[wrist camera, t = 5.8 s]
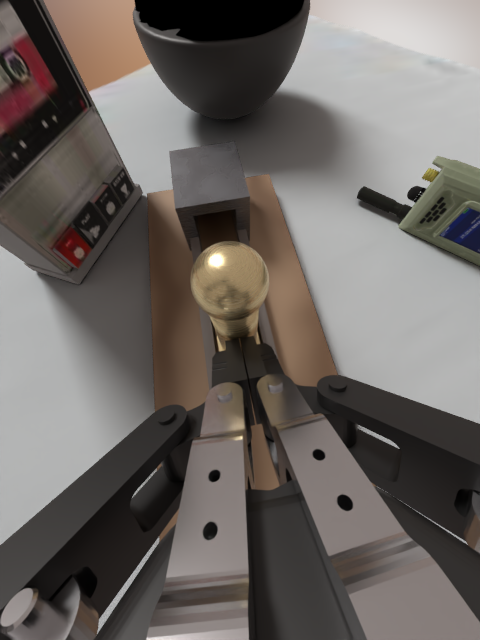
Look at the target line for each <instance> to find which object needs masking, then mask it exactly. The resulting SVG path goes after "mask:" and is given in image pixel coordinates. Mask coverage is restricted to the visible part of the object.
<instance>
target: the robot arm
mask: <svg viewBox="0 0 480 640" xmlns="http://www.w3.org/2000/svg"><path fill="white" fill-rule="evenodd" d="M240 342H241V346H240ZM225 346H226V350H224V351H219V352H216V353H215V355H214V356H213V358H212V389H211V390H210V391H209V392H208V394H207V396H206V401H205V402H204V403H203V404H201V405H200V406H198V407H196V408H193V409H191V410H189V411H186V409H185V408H184V407H183V406H181V405H176V404H175V405H168V406H165V407H163V408H161V409H159V410H157V411H156V412H155V413H153V414H152V415H151V416H150V417H149V418H148V419H146V420H145V421H144V422H143V423H142V424H141V425H139V426H138V427H137V428H136V429H135V430H134V431H132V432H131V433H130V434H129V435H128V436H127V437H126V438H124V439H123V440H122V441H121V442H120V443H119V444H117V445H116V446H115V447H114V448H113V449H112V450H110V451H109V452H108V453H107V454H106V455H105V456H103V457H102V458H101V459H100V460H99V461H98V462H97V463H95V464H94V465H93V466H92V467H91V468H90V469H88V470H87V471H86V472H85V473H84V474H83V475H81V476H80V477H79V478H78V479H77V480H76V481H74V482H73V483H72V484H71V485H70V486H69V487H68V488H66V489H65V490H64V491H63V492H62V493H61V494H59V495H58V496H57V497H56V498H55V499H54V500H52V501H51V502H50V503H49V504H48V505H47V506H45V507H44V508H43V509H42V510H41V511H40V512H39V513H37V514H36V515H35V516H34V517H33V518H32V519H30V520H29V521H28V522H27V523H26V524H25V525H23V526H22V527H21V528H20V529H19V530H18V531H16V532H15V533H14V534H13V535H12V536H11V537H10V538H8V539H7V540H6V541H5V542H4V543H3V544H1V545H0V640H480V424H478V423H475V422H473V421H470V420H467V419H464V418H461V417H458V416H455V415H453V414H450V413H447V412H444V411H441V410H438V409H436V408H433V407H430V406H427V405H424V404H421V403H418V402H416V401H413V400H410V399H407V398H404V397H401V396H399V395H396V394H393V393H390V392H387V391H384V390H381V389H379V388H376V387H373V386H370V385H367V384H364V383H362V382H359V381H356V380H353V379H350V378H347V377H344V376H340V375H329V376H325V377H323V378H321V379H320V380H319V381H318V383H317V387H313V386H301V385H297V384H294V382H293V381H292V379H291V378H290V377H288V376H286V375H285V374H284V372H283V370H282V367H281V365H280V363H279V361H278V359H277V357H276V355H275V353H274V351H273V349H272V347H271V346H269V345H268V344H266V343H263V344H257V343H256V341H255V338H254V336H249V337H243V338H240V341H239V338H238V339H232V340H227V341H225ZM241 348H242V351H241ZM242 354H243V356H242ZM249 390H250V391H249ZM250 395H251V397H250ZM251 400H252V403H251ZM252 405H253V409H254V414H255V419H256V424H257V425H258V424H262V426H263V431H264V437H265V442H266V445H267V448H268V451H269V455H270V458H271V461H272V464H273V467H274V470H275V473H276V476H277V479H278V482H279V485H280V486H279V487H277V488H275V489H273V490H257V489H256V483H255V471H254V459H253V447H252V440H251V439H252V430H251V426H253V425H255V421H254V415H253V409H252ZM358 425H360V426H362V427H364V428H367V429H369V430H371V431H373V432H375V433H377V434H379V435H381V436H383V437H385V438H387V439H389V440H391V441H393V442H394V443H395V444H396V445H397V446H398V447H399V448H400V449H398V448H396V447H394V446H392V445H390V444H388V443H385V442H383V441H381V440H379V439H377V438H375V437H373V436H371V435H369V434H367V433H365V432H363V431H361V430H359V429H357V427H358ZM160 464H161V465H162V466H161V467H160V468H159V469H158V470H157V472H156V473H155V474H154V475H153V476H152V477H151V478H150V479H149V480H148V482H147V483H146V484H145V485H144V486H143V487H142V488H141V489H140V490H139V492H138V493H137V494H136V495H135V496H134V497H133V498H132V496H133V494H134V493H135V491H136V490H137V489H138V488H139V486H140V485H141V484H142V483H143V482H144V481H145V480H146V479H147V478H148V477H149V476H150V474H151V473H152V472H153V471H154V470H155V469H156V468H157V467H158V466H159V465H160ZM372 483H373V484H375V485H376V486H378V487H380V488H381V489H383V490H384V491H383V490H381V489H379V488H377V487H375V486H373V485H372ZM385 491H386V492H385ZM387 492H388V493H387ZM390 494H391V495H390ZM393 496H394V497H393ZM395 497H396V498H397V499H396V498H395ZM398 499H399V500H398ZM401 501H402V502H401ZM403 502H404V503H405V504H404V503H403ZM406 504H407V505H408V506H407V505H406ZM409 506H410V507H412V508H413V509H415V510H416V511H418V512H420V513H421V514H423V515H425V516H426V517H428V518H429V519H431V520H433V521H434V522H436V523H437V524H439V525H441V526H442V527H444V528H445V529H447V530H449V531H450V532H452V533H453V534H455V535H457V536H458V537H460V538H462V539H463V540H465V541H466V542H467V544H468V545H467V544H465V543H463V542H462V541H460V540H459V539H457V538H456V537H454V536H453V535H451V534H450V533H448V532H447V531H445V530H444V529H442V528H441V527H439V526H438V525H436V524H435V523H433V522H432V521H430V520H428V519H427V518H425V517H424V516H422V515H421V514H419V513H418V512H416V511H415V510H413V509H412V508H410V507H409ZM178 509H179V513H178V518H177V523H176V524H175V525H174V526H173V527H172V528H171V529H170V530H169V531H168V532H167V534H166V535H165V536H164V537H163V539H162V540H161V541H160V542H159V544H158V545H157V547H156V548H155V550H154V551H153V553H152V554H151V555H150V557H149V558H148V560H147V561H146V563H145V564H144V566H143V567H142V569H141V570H140V572H139V573H138V575H137V576H136V578H135V579H134V581H133V582H132V584H131V585H130V587H129V588H128V590H127V591H126V593H125V594H124V596H123V597H122V598H121V600H120V601H119V603H118V604H117V606H116V607H115V609H114V610H113V612H112V613H111V615H110V616H109V618H108V619H107V621H106V622H105V624H104V625H103V627H102V628H101V630H100V631H99V633H98V634H97V630H98V622H99V618H100V617H101V616H102V614H103V613H104V611H105V610H106V609H107V607H108V606H109V605H110V603H111V602H112V600H113V599H114V598H115V596H116V595H117V594H118V592H119V591H120V589H121V588H122V587H123V585H124V584H125V582H126V581H127V580H128V578H129V577H130V576H131V574H132V573H133V571H134V570H135V569H136V567H137V566H138V565H139V563H140V562H141V560H142V559H143V558H144V556H145V555H146V553H147V552H148V551H149V549H150V548H151V547H152V545H153V544H154V542H155V541H156V540H157V538H158V537H159V535H160V534H161V533H162V531H163V530H164V529H165V527H166V526H167V524H168V523H169V522H170V520H171V519H172V518H173V516H174V515H175V513H176V512H177V511H178ZM96 635H97V636H96Z"/></svg>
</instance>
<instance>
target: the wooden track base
mask: <svg viewBox="0 0 480 640" xmlns="http://www.w3.org/2000/svg"><path fill="white" fill-rule="evenodd" d="M245 180H246V184H247V187H248V191H249V194H250V241H249V240H248V236H247V232H246V229H243V230H237V234H238V240H237V236H236V231H235V227H234V222H233V218H232V214H231V210H228V211H222V212H216V213H210V214H204V215H198V216H197V218H198V224H199V231H200V238H201V243H200V239H199V237H196V238H190V241H191V249H192V250H191V251H190V249H189V246H188V244H187V241H186V238H185V235H184V232H183V230H182V227H181V224H180V221H179V218H178V216H177V213H176V210H175V203H174V193H173V190H167V191H160V192H154V193H148V194H147V204H148V231H149V259H150V287H151V315H152V343H153V371H154V399H155V412H156V411H157V410H159V409H161V408H163V407H165V406H168V405H175V404H176V405H181V406H183V407H184V408H185V409H186V411H189V410H191V409H193V408H196V407H198V406H200V405H201V404H203V403H204V402H205V401H206V396H207V394H208V392H209V391H210V390H211V389H212V358H213V356H214V355H215V353H216V352H219V346H218V340H217V333H216V331H215V328H214V326H213V323H212V321H211V318H210V316H209V315H208V314H207V313H206V312H204V311H203V310H202V309H201V308H200V307H199V305H198V304H197V302H196V301H195V299H194V297H193V294H192V291H191V284H190V277H191V271H192V268H193V265H194V263H195V261H196V259H197V258H198V256H199V255H200V254H201V253H202V252H203V251H204V250H205V249H207V248H208V247H210V246H211V245H214V244H216V243H219V242H224V241H235V242H240V243H243V244H246V245H248V246H249V247H251V248H253V249H254V250H255V251H256V252H257V253H258V254H259V255H260V256H261V257H262V259H263V260H264V262H265V264H266V266H267V269H268V274H269V289H268V293H267V296H266V298H265V300H264V302H263V304H262V305H261V306H260V308H259V316H258V328H257V332H258V337H259V341H260V344H263V343H266V344H268V345H269V346H271V347H272V349H273V351H274V353H275V355H276V357H277V359H278V361H279V363H280V365H281V367H282V370H283V372H284V374H285V375H286V376H288V377H290V378H291V379H292V381H293V382H294V384H297V385H301V386H313V387H317V383H318V381H319V380H320V379H321V378H323V377H325V376H329V375H338V374H337V371H336V368H335V365H334V363H333V360H332V357H331V354H330V351H329V348H328V345H327V342H326V339H325V336H324V333H323V330H322V328H321V325H320V322H319V319H318V316H317V313H316V310H315V307H314V304H313V301H312V298H311V295H310V293H309V290H308V287H307V284H306V281H305V278H304V275H303V272H302V269H301V266H300V263H299V261H298V258H297V255H296V252H295V249H294V246H293V243H292V240H291V237H290V234H289V231H288V228H287V226H286V223H285V220H284V217H283V214H282V211H281V208H280V205H279V202H278V199H277V196H276V193H275V191H274V188H273V185H272V182H271V179H270V176H269V174H266V175H260V176H253V177H247V178H245ZM201 245H202V247H201ZM249 391H250V390H249ZM250 397H251V395H250ZM251 403H252V400H251ZM252 409H253V405H252ZM253 415H254V421H255V425H253V426H251V430H252V439H251V440H252V447H253V459H254V471H255V483H256V489H257V490H273V489H275V488H277V487H279V486H280V485H279V482H278V479H277V476H276V473H275V470H274V467H273V464H272V461H271V458H270V455H269V451H268V448H267V445H266V442H265V437H264V431H263V426H262V424H258V425H257V424H256V419H255V414H254V409H253ZM161 466H162V465H161V464H160V465H159V466H158V467H157V470H158V469H159V468H160V467H161ZM372 485H373V486H375V487H376V485H375V484H373V483H372ZM178 513H179V509H178V511H177V512H176V513H175V515H174V516H173V518H172V519H171V520H170V522H169V523H168V524H167V526H166V527H165V529H164V530H163V531H162V533H161V534H160V535H159V538H160V541H161V540H162V539H163V537H164V536H165V535H166V534H167V532H168V531H169V530H170V529H171V528H172V527H173V526H174V525H175V524H176V523H177V518H178Z"/></svg>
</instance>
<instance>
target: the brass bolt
mask: <svg viewBox="0 0 480 640" xmlns="http://www.w3.org/2000/svg"><path fill="white" fill-rule="evenodd" d="M190 284H191V291H192V294H193V297H194V299H195V301H196V302H197V304H198V305H199V307H200V308H201V309H202V310H203V311H204V312H206V313H207V314H208V315H209V316H210V318H211V321H212V323H213V326H214V328H215V331H216V333H217V340H218V346H219V351H224V350H226V346H225V341H227V340H232V339H238V338H239V341H240V338H243V337H249V336H254V338H255V341H256V343H257V344H260V341H259V337H258V332H257V328H258V316H259V308H260V306H261V305H262V304H263V302H264V300H265V298H266V296H267V293H268V289H269V274H268V269H267V266H266V264H265V262H264V260H263V259H262V257H261V256H260V255H259V254H258V253H257V252H256V251H255V250H254V249H253V248H251V247H249V246H248V245H246V244H243V243H240V242H235V241H224V242H219V243H216V244H214V245H211V246H210V247H208V248H207V249H205V250H204V251H203V252H202V253H201V254H200V255H199V256H198V258H197V259H196V261H195V263H194V265H193V268H192V271H191V277H190ZM240 346H241V342H240ZM241 351H242V348H241ZM242 356H243V354H242Z"/></svg>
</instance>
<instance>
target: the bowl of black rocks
mask: <svg viewBox="0 0 480 640" xmlns="http://www.w3.org/2000/svg"><path fill="white" fill-rule="evenodd" d="M135 5H136V7H135V8H134V11H133V20H134V25H135V28H136V31H137V33H138V36H139V39H140V41H141V44H142V46H143V48H144V50H145V52H146V55H147V57H148V58H149V60H150V62H151V64H152V66H153V67H154V69H155V71H156V72H157V74H158V75H159V77H160V78H161V80H162V81H163V83H164V84H165V85H166V86H167V88H168V89H169V90H170V91H171V92H172V93H173V94H174V95H175V96H176V97H177V98H178V99H179V100H180V101H181V102H182V103H183V104H185V105H186V106H188V107H189V108H190V109H192V110H194V111H195V112H197V113H199V114H202V115H204V116H207V117H210V118H215V119H234V118H239V117H242V116H245V115H247V114H249V113H251V112H253V111H255V110H256V109H258V108H259V107H260V106H262V105H263V104H264V103H265V102H266V101H267V100H268V99H269V98H270V97H271V96H272V95H273V94H274V93H275V92H276V91H277V89H278V88H279V87H280V85H281V84H282V82H283V81H284V79H285V77H286V76H287V74H288V72H289V70H290V69H291V67H292V64H293V62H294V60H295V58H296V55H297V53H298V50H299V48H300V45H301V42H302V39H303V36H304V32H305V29H306V25H307V20H308V16H309V10H310V0H135Z"/></svg>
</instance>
